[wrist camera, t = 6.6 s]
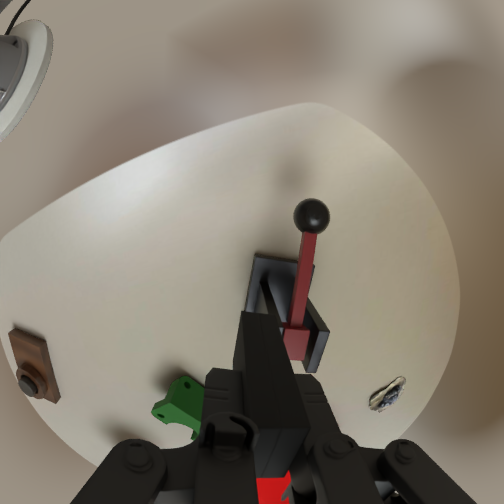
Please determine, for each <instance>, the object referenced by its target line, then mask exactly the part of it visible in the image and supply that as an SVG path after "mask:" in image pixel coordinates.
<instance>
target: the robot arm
mask: <svg viewBox="0 0 504 504" xmlns="http://www.w3.org/2000/svg"><path fill="white" fill-rule="evenodd" d="M11 1H12V0H0V13H1V12H2V11H3V10H4V9H5V7H6V6H7V5H8V4H9V3H10V2H11ZM30 1H31V0H26V1H25V3H24V4H23V5H22V6H21V8H20V9H19V10H18V12H17V13H16V15H15V16H14V18H13V20H12V21H11V23H10V25H9V27H8V29H7V31H6V33H5V35H0V112H1V111H2V109H3V108H4V107H5V105H6V104H7V103H8V101H9V99H10V98H11V96H12V95H13V93H14V91H15V89H16V87H17V85H18V83H19V81H20V79H21V77H22V74H23V72H24V69H25V66H26V63H27V58H28V44H27V42H26V41H25V40H24V39H22V38H20V37H19V36H16V35H9V33H10V31H11V29H12V27H13V25H14V23H15V21H16V20H17V18H18V17H19V15H20V13H21V12H22V11H23V9H24V8H25V7H26V6H27V4H28V3H29V2H30ZM327 401H328V400H327V398H326V396H325V395H324V391H323V389H322V386H321V384H320V382H318V381H317V380H316V379H315V378H314V377H313V376H312V375H311V374H294V372H293V369H292V366H291V363H290V359H289V356H288V353H287V350H286V347H285V344H284V341H283V338H282V335H281V331H280V328H279V325H278V322H277V319H276V316H275V315H272V314H263V313H255V312H247V311H241V317H240V323H239V329H238V334H237V340H236V346H235V351H234V357H233V370H228V369H220V368H212V369H211V371H210V372H209V373H208V374H207V375H206V380H205V389H204V397H203V406H202V416H201V425H200V431H199V435H198V436H197V438H196V439H195V440H194V441H193V442H192V443H190V444H189V445H186V446H184V447H180V448H173V449H160V448H159V447H158V446H156V445H154V444H153V443H151V442H149V441H145V440H141V439H128V440H125V441H122V442H119V443H118V444H117V445H116V446H115V447H113V449H112V450H111V451H110V453H109V454H108V455H107V456H106V458H105V459H104V460H103V462H102V463H101V464H100V466H99V467H98V468H97V470H96V471H95V472H94V474H93V475H92V476H91V477H90V479H89V480H88V481H87V482H86V484H85V485H84V486H83V488H82V489H81V490H80V491H79V493H78V494H77V495H76V497H75V498H74V499H73V500H72V502H71V503H70V504H259V499H258V490H257V480H256V478H284V477H285V476H286V474H287V472H288V470H289V472H290V477H291V482H290V484H289V485H288V487H287V488H286V490H285V491H284V493H283V494H282V496H281V501H285V499H286V498H287V497H288V498H289V504H477V503H476V502H475V501H474V500H473V499H472V498H470V496H469V495H468V494H467V493H465V492H464V491H463V490H462V489H461V488H460V487H459V486H458V485H457V484H456V483H455V482H454V481H453V480H452V479H451V478H450V477H449V476H448V475H447V474H446V473H445V472H444V471H443V470H442V469H441V468H440V467H439V466H438V465H437V464H436V463H435V462H434V461H433V460H432V459H431V458H430V457H429V456H428V455H427V454H426V453H425V452H424V451H423V450H422V449H421V448H420V447H419V446H418V445H417V444H415V443H414V442H412V441H409V440H406V439H398V440H394V441H392V442H391V443H389V444H388V445H387V446H386V448H385V449H374V448H364V447H360V446H358V445H357V443H356V442H355V440H354V439H352V438H351V437H349V436H348V435H345V434H342V433H341V431H340V429H339V427H338V424H337V422H336V419H335V417H334V415H333V412H332V410H331V408H330V405H329V403H327ZM395 491H397V492H398V493H399V494H397V493H395Z"/></svg>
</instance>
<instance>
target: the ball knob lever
mask: <svg viewBox="0 0 504 504" xmlns="http://www.w3.org/2000/svg"><path fill="white" fill-rule="evenodd" d="M293 217H294V223H295V225H296V227H297V228H298V229H299V230H300V231H301V232H302V238H301V244H300V251H299V258H298V264H297V271H296V277H295V283H294V289H293V295H292V301H291V307H290V312H289V318H288V322H282V324H283V327H284V329H283V333H282V338H283V341H284V344H285V347H286V350H287V353H288V356H289V359H290V360H300V361H304V357H305V353H306V348H307V343H308V339H309V334H310V330H309V329H307V328H306V327H305V326H304V325H303V319H304V313H305V308H306V302H307V297H308V291H309V285H310V279H311V273H312V266H313V260H314V253H315V246H316V239H317V234H320V233H322V232H323V231H324V230H325V229H326V228H327V226H328V224H329V222H330V212H329V209H328V208H327V206H326V205H325V204H324V203H323V202H322V201H320V200H318V199H314V198H309V199H305V200H303V201H301V202H300V203H299V204H298V205H297V206H296V208H295V211H294V216H293Z"/></svg>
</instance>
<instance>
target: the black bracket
mask: <svg viewBox="0 0 504 504" xmlns="http://www.w3.org/2000/svg"><path fill="white" fill-rule="evenodd" d="M297 264H298V261H296V260H290V259H283V258H277V257H270V256H264V255H258V254H255V255H254V260H253V266H252V271H251V277H250V282H249V288H248V293H247V299H246V304H245V310H244V311H247V312H255V313H263V314H272V315H275V316H276V319H277V322H278V325H279V328H280V331H281V335H282V333H283V329H284V327H283V324H282V322H288V318H289V312H290V307H291V301H292V295H293V289H294V283H295V277H296V271H297ZM314 268H315V265H314V264H313V266H312V273H311V279H310V285H311V280H312V276H313V272H314ZM310 285H309V289H310ZM308 293H309V291H308ZM303 325H304V326H305V327H306V328H307V329H309V330H310V334H309V339H308V343H307V348H306V353H305V357H304V361H302V364H303V366H304V369H305V371H306V373H316V371H317V368H318V366H319V363H320V360H321V357H322V354H323V351H324V349H325V346H326V343H327V340H328V337H329V333H330V331H329V329H328V328H327V326H326V324H325V323H324V321H323V320H322V318H321V317H320V315H319V314H318V312H317V310H316V309H315V307H314V306H313V304H312V303H311V301H310V300H309V298H308V297H307V302H306V308H305V313H304V319H303Z"/></svg>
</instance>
